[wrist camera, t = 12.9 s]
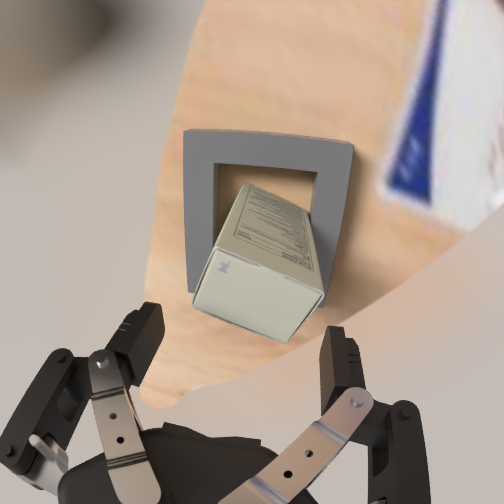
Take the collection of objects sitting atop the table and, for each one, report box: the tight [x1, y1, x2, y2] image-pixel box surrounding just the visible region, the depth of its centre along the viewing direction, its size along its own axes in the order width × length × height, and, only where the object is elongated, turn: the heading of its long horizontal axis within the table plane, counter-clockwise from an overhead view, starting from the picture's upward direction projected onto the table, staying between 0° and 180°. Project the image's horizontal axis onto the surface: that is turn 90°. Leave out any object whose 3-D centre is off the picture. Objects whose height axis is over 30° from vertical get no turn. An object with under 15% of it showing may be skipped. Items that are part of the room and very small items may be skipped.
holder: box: [183, 129, 354, 308], centre depth 25 cm, size 13×15×2 cm
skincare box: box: [191, 183, 325, 344], centre depth 21 cm, size 6×4×12 cm
